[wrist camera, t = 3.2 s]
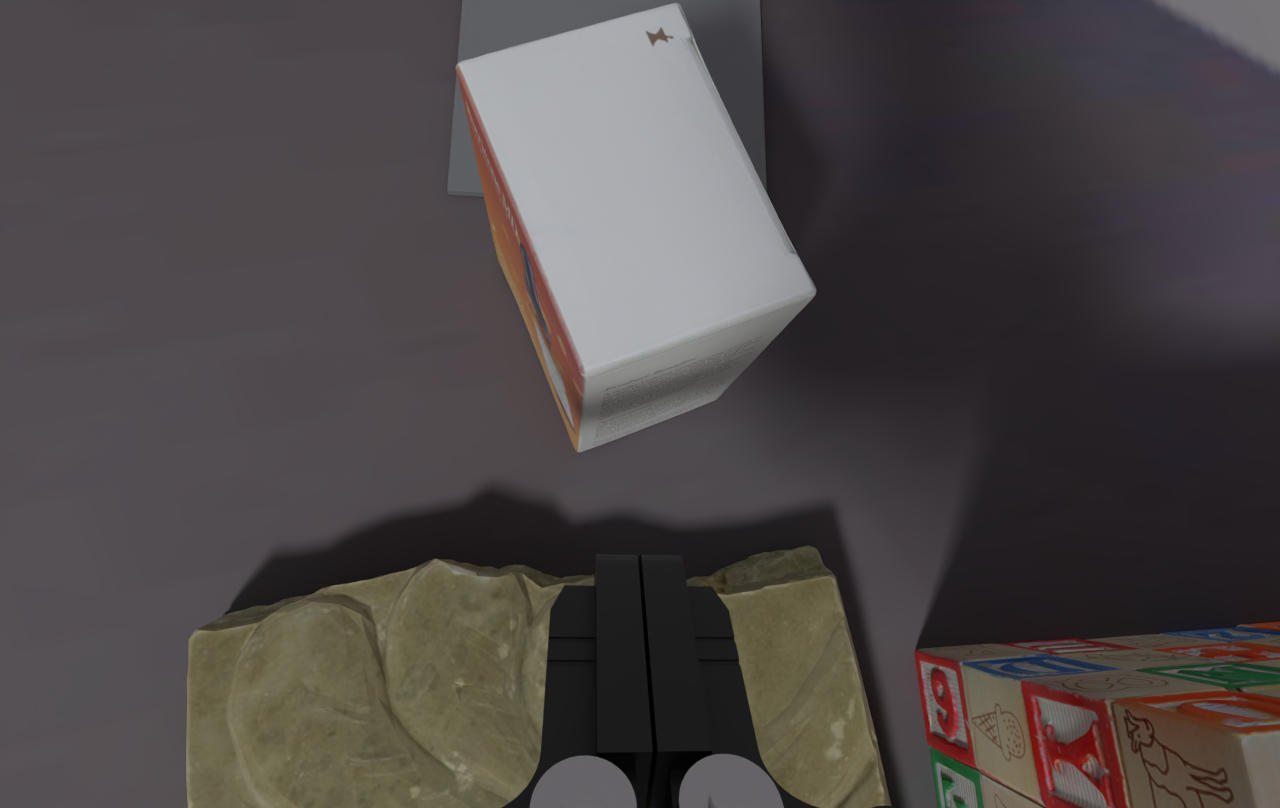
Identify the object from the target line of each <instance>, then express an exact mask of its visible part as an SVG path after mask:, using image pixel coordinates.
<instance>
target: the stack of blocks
mask: <svg viewBox="0 0 1280 808" xmlns="http://www.w3.org/2000/svg"><path fill="white" fill-rule="evenodd" d="M915 658H916V665H917V672H918V680H919V687H920V694H921V701H922V708H923V714H924V721H925V728H926V735H927V741H928V744H929V747H930V753H931V760H932V767H933V775H934V782H935V789H936V797H937V804H938V808H1280V622H1269V623H1256V624H1241V625H1237V626H1236V627H1235V628H1219V629H1207V630H1195V631H1180V632H1167V633H1161V634H1149V635H1136V636H1123V637H1111V638H1099V639H1087V640H1081V639H1076V638H1073V639H1057V640H1045V641H1031V642H1017V643H1004V644H978V645H963V646H949V647H935V648H921V649H917V650H915Z"/></svg>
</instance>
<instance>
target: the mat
mask: <svg viewBox="0 0 1280 808" xmlns="http://www.w3.org/2000/svg"><path fill="white" fill-rule="evenodd" d="M673 3H678V4H680V6H681V7H682V10H683V12H684V14H685V17H686V19H687V22H688V24H689V26H690V29H691V31H692V33H693V36H694V39H695V42H696V44H697V47H698V49H699V52H700V54H701V56H702V58H703V60H704V63H705V65H706V67H707V69H708V71H709V74H710V76H711V78H712V81H713V83H714V85H715V87H716V89H717V91H718V93H719V95H720V98H721V100H722V102H723V104H724V106H725V108H726V110H727V112H728V114H729V116H730V118H731V121H732V123H733V125H734V127H735V129H736V131H737V133H738V135H739V137H740V139H741V141H742V143H743V145H744V148H745V150H746V152H747V154H748V156H749V158H750V160H751V162H752V164H753V166H754V168H755V171H756V173H757V175H758V177H759V179H760V181H761V183H762V185H763V187H764V189H765V191H766V193H767V183H766V155H765V127H764V98H763V70H762V42H761V14H760V0H462V12H461V25H460V37H459V50H458V62H457V64H458V63H459V62H461V61H463V60H468V59H473V58H476V57H479V56H482V55H485V54H488V53H492V52H495V51H499V50H503V49H506V48H509V47H513V46H517V45H520V44H524V43H528V42H532V41H535V40H539V39H543V38H547V37H550V36H554V35H557V34H561V33H565V32H568V31H572V30H576V29H579V28H583V27H587V26H590V25H594V24H597V23H601V22H605V21H608V20H612V19H616V18H619V17H623V16H627V15H630V14H634V13H638V12H642V11H646V10H650V9H654V8H657V7H661V6H665V5H669V4H673ZM447 191H448V194H449V195H461V196H479V197H484V194H483V190H482V185H481V181H480V176H479V171H478V166H477V162H476V157H475V153H474V148H473V143H472V138H471V134H470V129H469V124H468V120H467V115H466V111H465V106H464V102H463V98H462V93H461V89H460V85H459V81H458V77H457V75H456V87H455V100H454V112H453V124H452V137H451V149H450V162H449V174H448V187H447Z"/></svg>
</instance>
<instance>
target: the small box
mask: <svg viewBox="0 0 1280 808" xmlns="http://www.w3.org/2000/svg"><path fill="white" fill-rule="evenodd" d="M456 73H457V77H458V81H459V85H460V89H461V93H462V98H463V102H464V106H465V111H466V115H467V120H468V124H469V129H470V134H471V138H472V143H473V148H474V153H475V157H476V162H477V166H478V171H479V176H480V181H481V185H482V190H483V194H484V198H485V203H486V208H487V213H488V217H489V221H490V226H491V231H492V235H493V240H494V244H495V248H496V253H497V257H498V260H499V263H500V265H501V267H502V270H503V272H504V274H505V277H506V279H507V281H508V283H509V286H510V288H511V290H512V292H513V295H514V297H515V299H516V302H517V304H518V306H519V309H520V311H521V314H522V316H523V319H524V321H525V324H526V326H527V329H528V331H529V334H530V336H531V339H532V341H533V344H534V347H535V349H536V352H537V354H538V357H539V360H540V362H541V365H542V367H543V370H544V373H545V375H546V378H547V380H548V383H549V385H550V388H551V391H552V393H553V396H554V398H555V401H556V403H557V406H558V408H559V411H560V413H561V416H562V418H563V421H564V423H565V426H566V429H567V431H568V434H569V436H570V439H571V441H572V444H573V446H574V448H575V450H576V451H577V452H583V451H585V450H588V449H591V448H594V447H597V446H599V445H602V444H605V443H607V442H610V441H613V440H615V439H618V438H621V437H623V436H626V435H628V434H631V433H633V432H636V431H639V430H641V429H644V428H646V427H649V426H651V425H654V424H657V423H659V422H662V421H664V420H667V419H669V418H672V417H675V416H677V415H680V414H682V413H685V412H687V411H690V410H692V409H695V408H697V407H700V406H702V405H705V404H707V403H709V402H712V401H714V400H716V399H718V397H719V396H720V395H721V394H722V393H723V392H724V391H725V390H726V389H727V388H728V387H729V386H730V385H731V384H732V382H733V381H734V380H735V379H736V378H738V376H739V375H740V374H741V373H742V372H743V371H744V370H745V369H746V368H747V367H748V366H749V365H750V364H751V363H752V362H753V361H754V360H755V359H756V358H757V357H758V356H759V354H760V353H761V352H762V351H763V350H764V349H765V348H766V347H767V346H768V345H769V344H770V343H771V342H772V340H773V339H774V338H775V337H776V336H777V335H778V334H779V333H780V332H781V331H782V330H783V329H784V328H785V327H786V326H787V325H788V324H789V323H790V322H791V321H792V320H793V319H794V317H795V316H796V315H797V314H798V313H799V312H800V311H801V310H802V309H803V308H804V307H805V306H806V305H807V304H808V303H809V302H810V301H811V300H812V299H813V297H814V296H815V294H816V287H815V285H814V283H813V281H812V280H811V278H810V276H809V274H808V273H807V271H806V269H805V267H804V265H803V263H802V261H801V260H800V258H799V256H798V254H797V252H796V251H795V249H794V247H793V245H792V243H791V241H790V239H789V238H788V236H787V234H786V232H785V230H784V228H783V226H782V224H781V222H780V220H779V218H778V216H777V214H776V211H775V209H774V207H773V205H772V203H771V201H770V199H769V197H768V195H767V193H766V191H765V189H764V187H763V185H762V183H761V181H760V179H759V177H758V175H757V173H756V171H755V168H754V166H753V164H752V162H751V160H750V158H749V156H748V154H747V152H746V150H745V148H744V145H743V143H742V141H741V139H740V137H739V135H738V133H737V131H736V129H735V127H734V125H733V123H732V121H731V118H730V116H729V114H728V112H727V110H726V108H725V106H724V104H723V102H722V100H721V98H720V95H719V93H718V91H717V89H716V87H715V85H714V83H713V81H712V78H711V76H710V74H709V71H708V69H707V67H706V65H705V63H704V60H703V58H702V56H701V54H700V52H699V49H698V47H697V44H696V42H695V39H694V36H693V33H692V31H691V29H690V26H689V24H688V22H687V19H686V17H685V14H684V12H683V10H682V7H681V6H680V4H678V3H673V4H669V5H665V6H661V7H657V8H654V9H650V10H646V11H642V12H638V13H634V14H630V15H627V16H623V17H619V18H616V19H612V20H608V21H605V22H601V23H597V24H594V25H590V26H587V27H583V28H579V29H576V30H572V31H568V32H565V33H561V34H557V35H554V36H550V37H547V38H543V39H539V40H535V41H532V42H528V43H524V44H520V45H517V46H513V47H509V48H506V49H503V50H499V51H495V52H492V53H488V54H485V55H482V56H479V57H476V58H473V59H468V60H463V61H461V62H459V63H458V64H457V65H456Z"/></svg>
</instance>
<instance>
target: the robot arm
mask: <svg viewBox="0 0 1280 808" xmlns="http://www.w3.org/2000/svg"><path fill="white" fill-rule="evenodd" d="M734 638H735V637H734V632H733V627H732V623H731V618H730V613H729V610H728V608H727V607H726V605H725V604H724V603H723V601H722V600H721V598H720V597H719V596H718V594H717V593H716V591H715V590H714V589H713V587H712V586H687V582H686V575H685V569H684V562H683V558H682V556H681V555H640V556H639V562H638V557H637V555H605V554H596V556H595V573H594V586H587V585H564V587H563V589H562V590H561V592H560V594H559V595H558V597H557V599H556V601H555V602H554V604H553V606H552V607H551V609H550V622H549V638H548V652H547V667H546V682H545V696H544V711H543V726H542V741H541V753H540V760H539V763H538V766H537V769H536V771H535V773H534V775H533V778H532V779H531V781H530V782H529V784H528V785H527V787H526V788H525V789H524V790H523V791H522V792H521V793H520V794H519V795H518V796H517V797H516V798H515V799H513V800H512V801H511V802H510V803H508V804H506V805H505V806H503V807H502V808H819V807H816V806H813V805H810V804H808V803H805V802H803V801H801V800H799V799H797V798H796V797H794V796H792V795H791V794H790V793H788V792H787V791H786V790H784V789H783V788H782V787H781V786H780V785H779V784H778V783H777V782H776V781H775V780H774V778H773V777H772V776H771V775H770V773H769V772H768V770H767V768H766V767H765V765H764V763H763V761H762V758H761V756H760V752H759V749H758V745H757V740H756V735H755V731H754V726H753V721H752V717H751V712H750V707H749V702H748V698H747V693H746V688H745V684H744V679H743V674H742V670H741V665H739V655H738V651H737V646H736V642H735V641H734ZM872 808H898V807H895V806H886V805H885V806H875V807H872Z"/></svg>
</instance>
